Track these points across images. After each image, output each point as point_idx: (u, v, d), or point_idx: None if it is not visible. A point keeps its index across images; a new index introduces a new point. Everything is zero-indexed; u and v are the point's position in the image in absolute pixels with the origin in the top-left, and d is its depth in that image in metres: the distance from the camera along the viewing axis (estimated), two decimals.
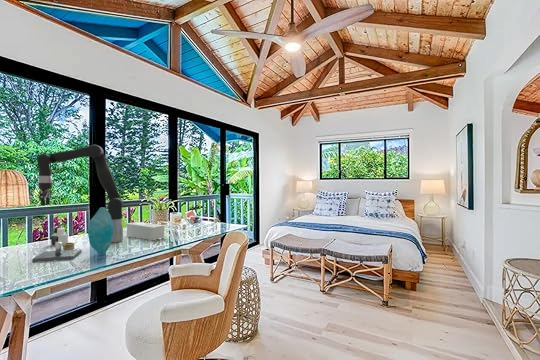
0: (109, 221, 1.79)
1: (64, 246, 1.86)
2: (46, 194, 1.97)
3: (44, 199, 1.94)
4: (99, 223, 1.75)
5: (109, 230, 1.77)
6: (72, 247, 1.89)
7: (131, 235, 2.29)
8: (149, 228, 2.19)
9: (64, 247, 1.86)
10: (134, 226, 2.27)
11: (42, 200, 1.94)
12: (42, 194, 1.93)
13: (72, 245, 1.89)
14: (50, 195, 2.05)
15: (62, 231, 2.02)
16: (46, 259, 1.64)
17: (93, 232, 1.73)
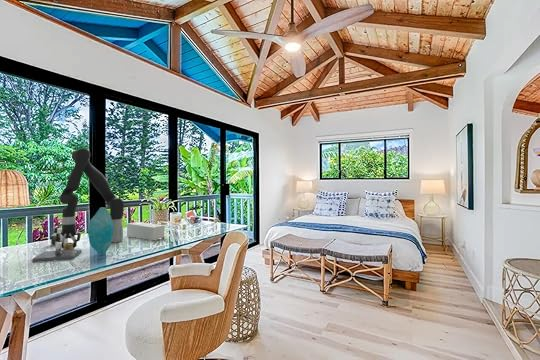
0: (109, 221, 1.79)
1: (64, 246, 1.86)
2: None
3: (76, 240, 1.92)
4: (99, 223, 1.75)
5: (109, 230, 1.77)
6: (72, 247, 1.89)
7: (131, 235, 2.29)
8: (149, 228, 2.19)
9: (64, 247, 1.86)
10: (134, 226, 2.27)
11: (76, 242, 1.91)
12: (80, 235, 1.92)
13: (72, 245, 1.89)
14: None
15: None
16: (46, 259, 1.64)
17: (93, 232, 1.73)
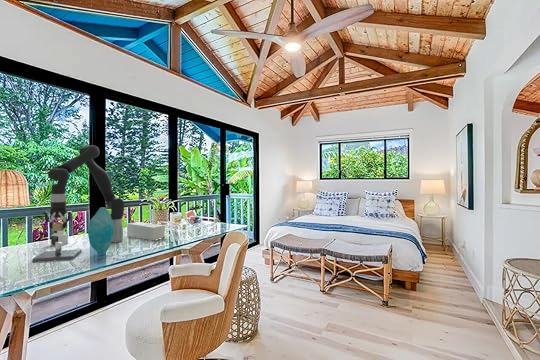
0: (109, 221, 1.79)
1: (53, 226, 1.69)
2: (64, 215, 1.74)
3: (67, 220, 1.74)
4: (99, 223, 1.75)
5: (109, 230, 1.77)
6: (62, 227, 1.71)
7: (131, 235, 2.29)
8: (149, 228, 2.19)
9: (53, 227, 1.69)
10: (134, 226, 2.27)
11: (66, 222, 1.73)
12: None
13: (62, 225, 1.71)
14: (48, 217, 1.71)
15: (62, 231, 2.02)
16: (46, 259, 1.64)
17: (93, 232, 1.73)
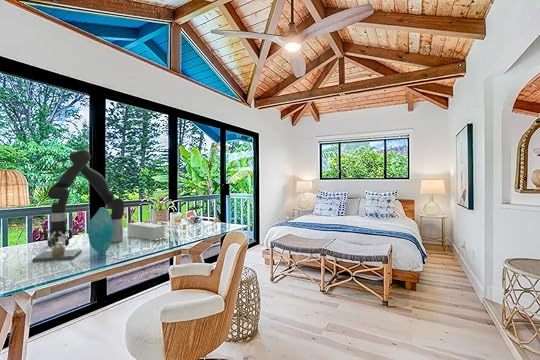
0: (109, 221, 1.79)
1: (53, 250, 1.69)
2: (65, 233, 1.74)
3: None
4: (99, 223, 1.75)
5: (109, 230, 1.77)
6: (62, 251, 1.72)
7: (132, 235, 2.29)
8: (150, 228, 2.19)
9: (53, 251, 1.69)
10: (135, 226, 2.27)
11: (68, 239, 1.74)
12: None
13: (62, 249, 1.72)
14: (47, 236, 1.71)
15: None
16: (46, 259, 1.64)
17: (93, 232, 1.73)
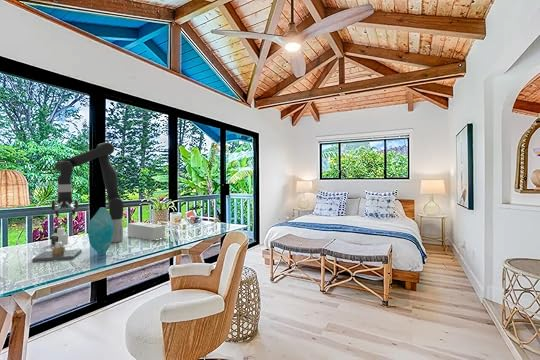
0: (109, 221, 1.79)
1: (53, 250, 1.69)
2: None
3: None
4: (99, 223, 1.75)
5: (109, 230, 1.77)
6: (62, 251, 1.72)
7: (132, 235, 2.29)
8: (150, 228, 2.19)
9: (53, 251, 1.69)
10: (135, 226, 2.27)
11: None
12: (77, 203, 1.88)
13: (62, 249, 1.72)
14: None
15: (62, 231, 2.02)
16: (46, 259, 1.64)
17: (93, 232, 1.73)
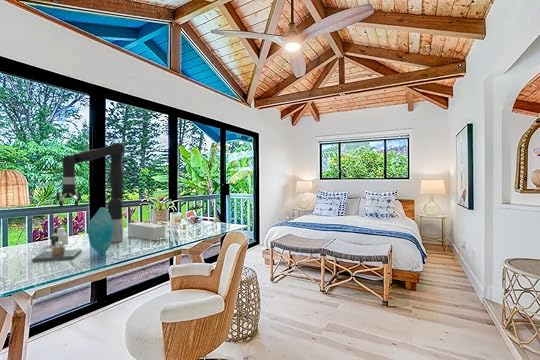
0: (109, 221, 1.79)
1: (53, 250, 1.69)
2: (74, 195, 2.00)
3: None
4: (99, 223, 1.75)
5: (109, 230, 1.77)
6: (62, 251, 1.72)
7: (132, 235, 2.29)
8: (150, 228, 2.19)
9: (53, 251, 1.69)
10: (135, 226, 2.27)
11: (77, 201, 1.99)
12: (80, 195, 2.00)
13: (62, 249, 1.72)
14: (59, 197, 1.96)
15: (62, 231, 2.02)
16: (46, 259, 1.64)
17: (93, 232, 1.73)
